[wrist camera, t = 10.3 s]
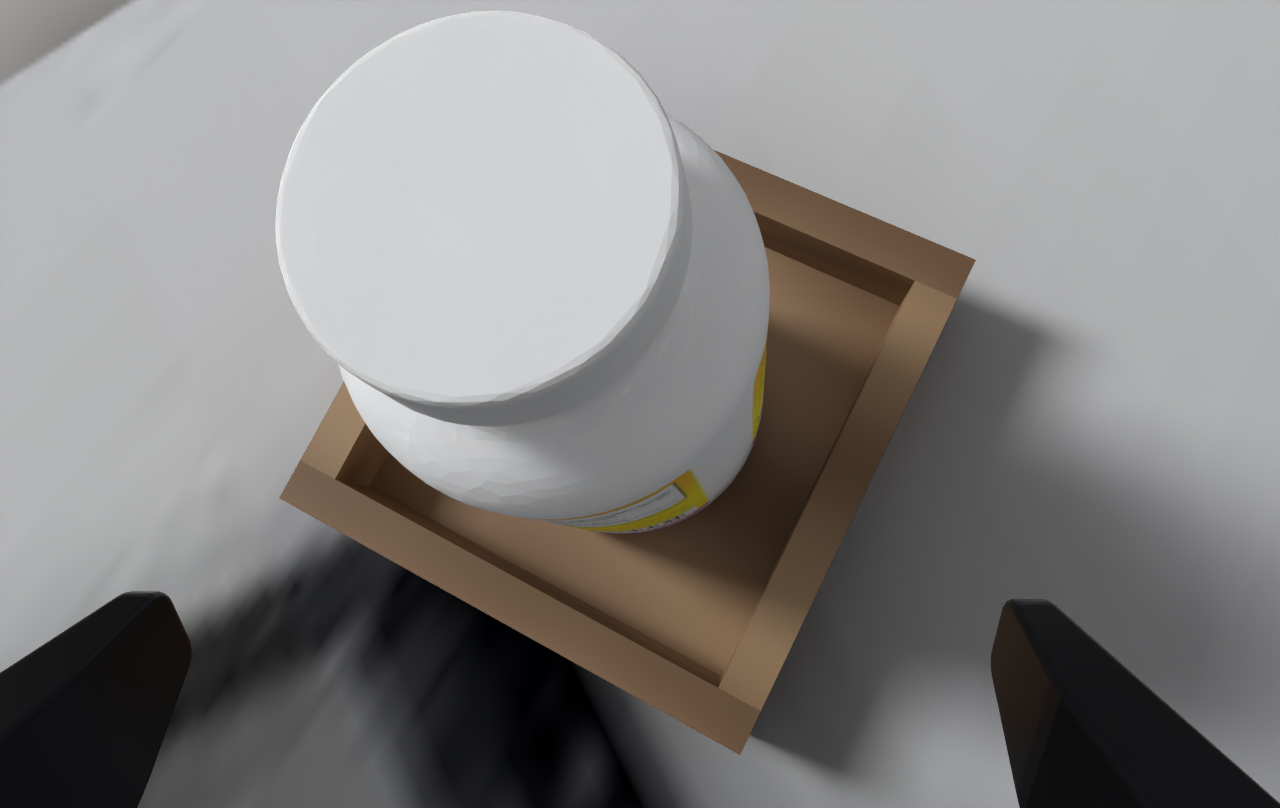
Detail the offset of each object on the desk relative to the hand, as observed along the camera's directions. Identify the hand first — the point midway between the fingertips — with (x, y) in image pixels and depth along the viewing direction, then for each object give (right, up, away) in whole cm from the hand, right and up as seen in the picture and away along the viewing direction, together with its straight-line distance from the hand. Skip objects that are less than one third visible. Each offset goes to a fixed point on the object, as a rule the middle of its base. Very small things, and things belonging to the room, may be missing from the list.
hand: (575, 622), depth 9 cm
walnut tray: (0, +2, +13) cm, 14 cm away
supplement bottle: (0, +2, +13) cm, 13 cm away
